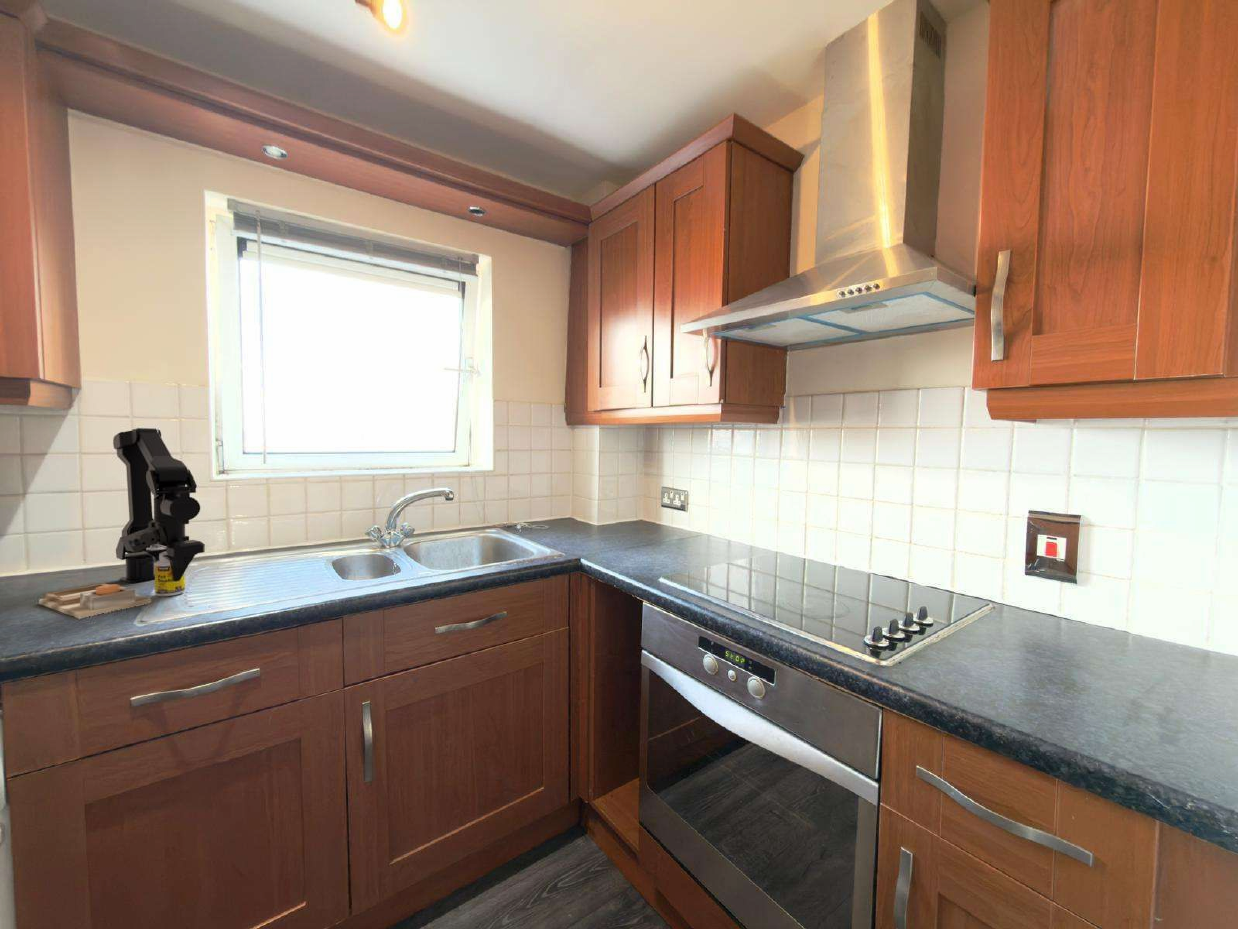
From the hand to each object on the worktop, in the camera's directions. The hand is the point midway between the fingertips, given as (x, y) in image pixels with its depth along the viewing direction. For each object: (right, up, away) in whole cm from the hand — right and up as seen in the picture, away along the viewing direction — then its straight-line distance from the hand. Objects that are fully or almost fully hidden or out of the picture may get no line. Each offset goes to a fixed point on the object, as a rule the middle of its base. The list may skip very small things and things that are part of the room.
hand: (170, 579), depth 125 cm
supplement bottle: (0, -4, 0) cm, 4 cm away
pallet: (-10, -4, -8) cm, 13 cm away
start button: (-5, -1, -10) cm, 12 cm away
